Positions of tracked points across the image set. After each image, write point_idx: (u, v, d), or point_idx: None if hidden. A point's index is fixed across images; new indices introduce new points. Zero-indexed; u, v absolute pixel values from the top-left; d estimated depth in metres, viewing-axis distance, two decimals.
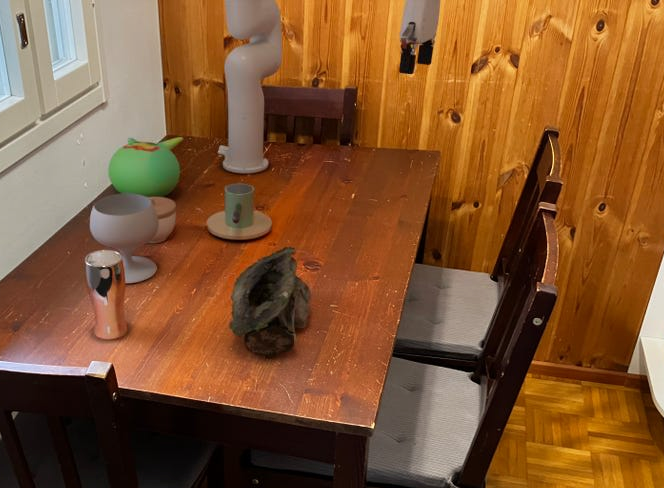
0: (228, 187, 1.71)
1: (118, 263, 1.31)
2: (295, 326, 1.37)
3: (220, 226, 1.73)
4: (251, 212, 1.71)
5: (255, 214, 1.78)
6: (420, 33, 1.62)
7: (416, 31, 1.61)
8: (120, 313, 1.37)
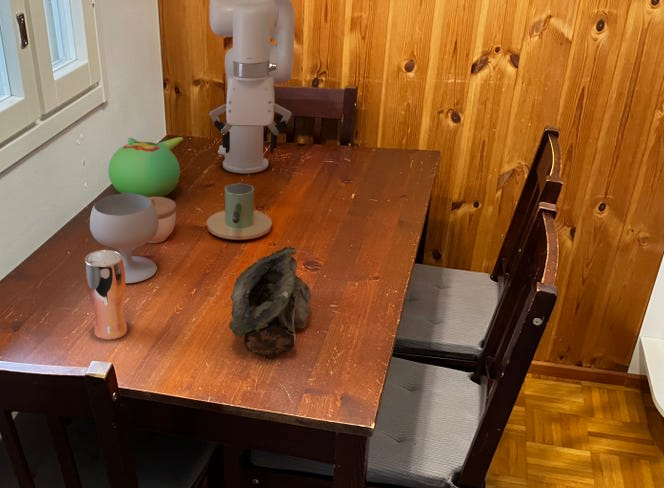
0: (228, 187, 1.71)
1: (118, 263, 1.31)
2: (295, 326, 1.37)
3: (220, 226, 1.73)
4: (251, 212, 1.71)
5: (255, 214, 1.78)
6: (227, 115, 1.60)
7: (226, 112, 1.61)
8: (120, 313, 1.37)
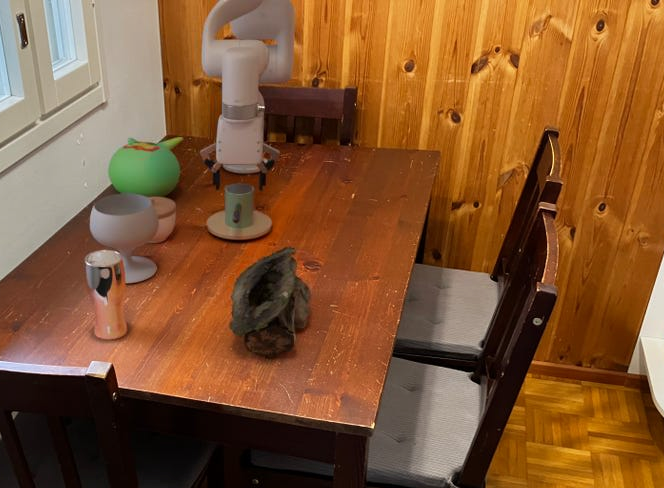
0: (228, 187, 1.71)
1: (118, 263, 1.31)
2: (295, 326, 1.37)
3: (220, 226, 1.73)
4: (251, 212, 1.71)
5: (255, 214, 1.78)
6: (217, 154, 1.64)
7: (216, 151, 1.65)
8: (120, 313, 1.37)
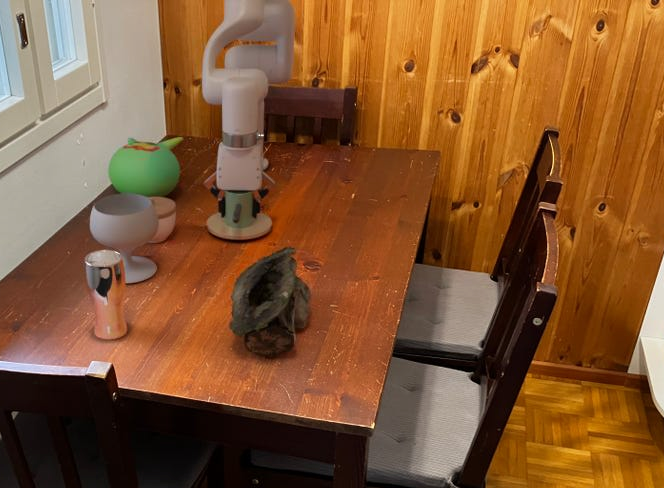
0: None
1: (118, 263, 1.31)
2: (295, 326, 1.37)
3: (220, 226, 1.73)
4: (251, 212, 1.71)
5: None
6: (218, 180, 1.68)
7: (216, 177, 1.68)
8: (120, 313, 1.37)
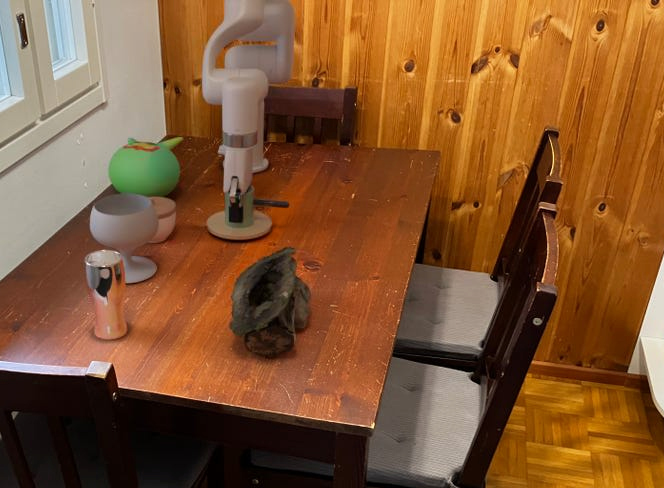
0: None
1: (118, 263, 1.31)
2: (295, 326, 1.37)
3: (246, 230, 1.71)
4: None
5: (223, 214, 1.79)
6: (244, 185, 1.65)
7: (240, 184, 1.64)
8: (120, 313, 1.37)
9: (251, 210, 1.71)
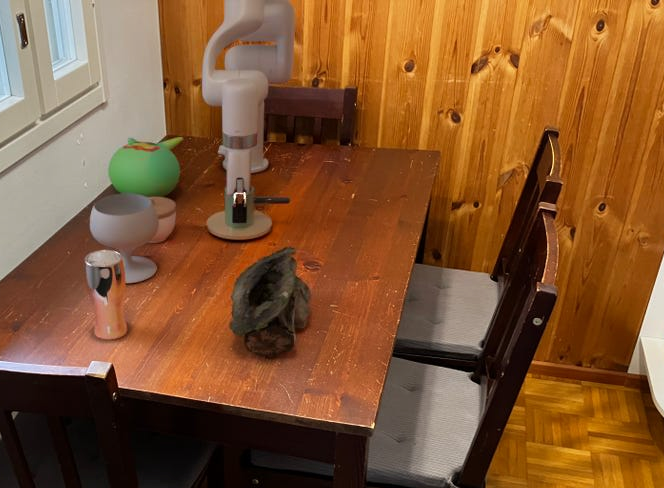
0: None
1: (118, 263, 1.31)
2: (295, 326, 1.37)
3: (251, 229, 1.71)
4: None
5: (219, 216, 1.78)
6: (248, 186, 1.65)
7: (245, 185, 1.65)
8: (120, 313, 1.37)
9: (252, 209, 1.72)
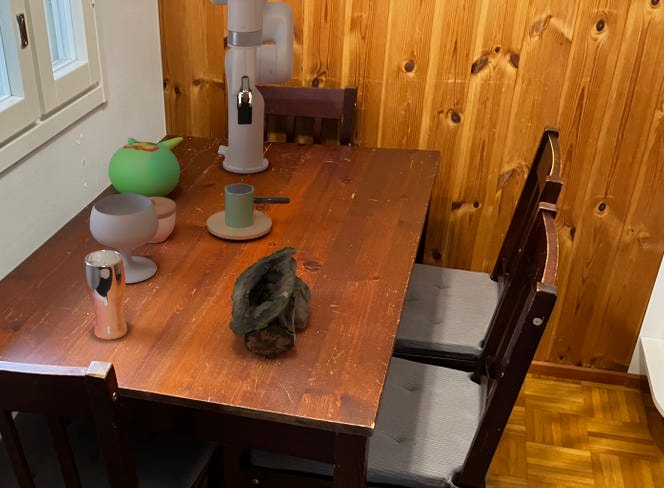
0: (236, 192, 1.68)
1: (118, 263, 1.31)
2: (295, 326, 1.37)
3: (251, 229, 1.71)
4: None
5: (219, 216, 1.78)
6: (254, 85, 1.65)
7: (250, 84, 1.64)
8: (120, 313, 1.37)
9: (252, 209, 1.72)
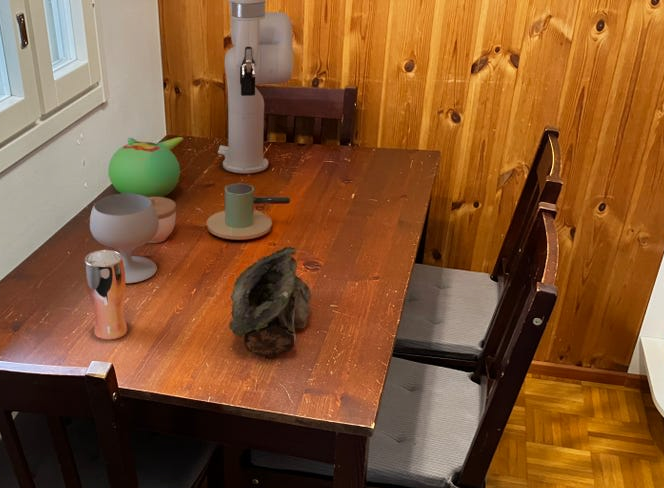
0: (236, 192, 1.68)
1: (118, 263, 1.31)
2: (295, 326, 1.37)
3: (251, 229, 1.71)
4: None
5: (219, 216, 1.78)
6: (257, 56, 1.69)
7: (253, 55, 1.69)
8: (120, 313, 1.37)
9: (252, 209, 1.72)
